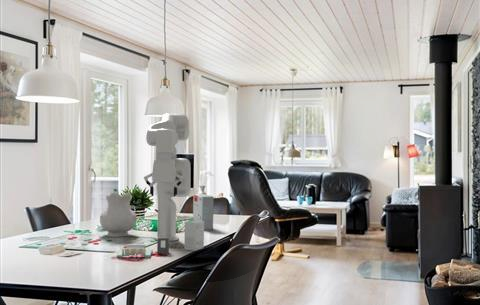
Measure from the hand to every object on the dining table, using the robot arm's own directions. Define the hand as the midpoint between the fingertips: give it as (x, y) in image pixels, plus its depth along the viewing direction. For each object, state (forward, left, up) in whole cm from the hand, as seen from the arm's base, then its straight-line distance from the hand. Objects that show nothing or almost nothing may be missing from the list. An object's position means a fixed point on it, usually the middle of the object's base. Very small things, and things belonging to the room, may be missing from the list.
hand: (163, 196), depth 224 cm
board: (-2, -12, -26) cm, 29 cm away
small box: (-16, +14, -26) cm, 34 cm away
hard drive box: (-82, +20, -26) cm, 89 cm away
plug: (-6, 0, -26) cm, 27 cm away
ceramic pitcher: (-56, -27, -26) cm, 68 cm away
